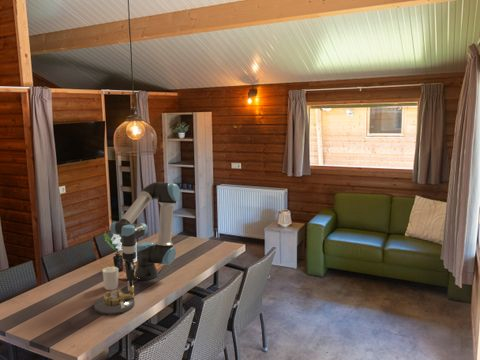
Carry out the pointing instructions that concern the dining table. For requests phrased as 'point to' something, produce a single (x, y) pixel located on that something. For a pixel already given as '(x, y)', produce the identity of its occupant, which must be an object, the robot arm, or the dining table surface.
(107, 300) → the brass lugged wrench
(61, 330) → the dining table surface
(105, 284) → the candle holder
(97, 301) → the bearing cap
